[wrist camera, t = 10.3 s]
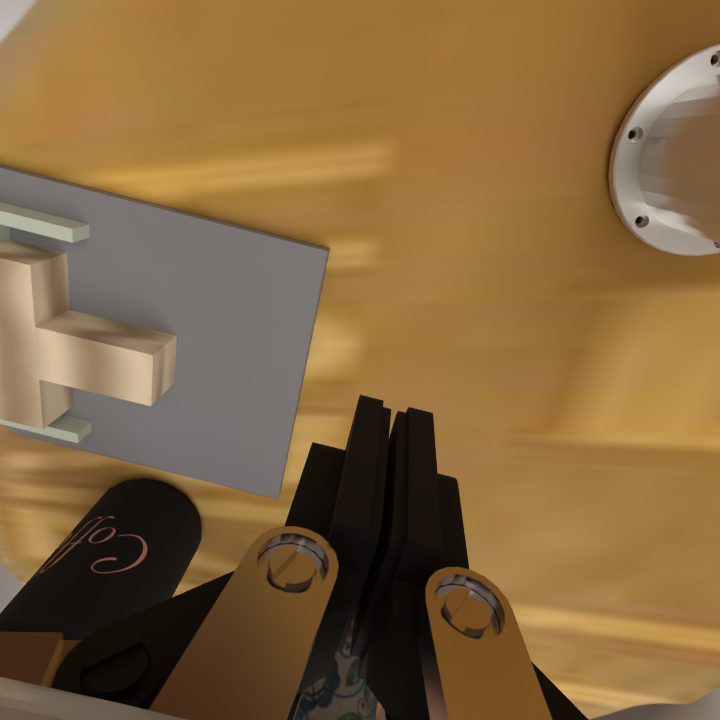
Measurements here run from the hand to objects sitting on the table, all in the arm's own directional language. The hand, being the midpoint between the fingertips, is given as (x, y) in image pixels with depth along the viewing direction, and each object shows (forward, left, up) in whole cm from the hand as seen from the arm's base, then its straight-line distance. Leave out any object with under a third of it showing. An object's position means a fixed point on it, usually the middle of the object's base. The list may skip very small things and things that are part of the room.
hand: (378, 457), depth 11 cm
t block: (+23, +14, -26) cm, 37 cm away
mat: (+18, +14, -27) cm, 35 cm away
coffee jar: (+17, +33, -27) cm, 46 cm away
